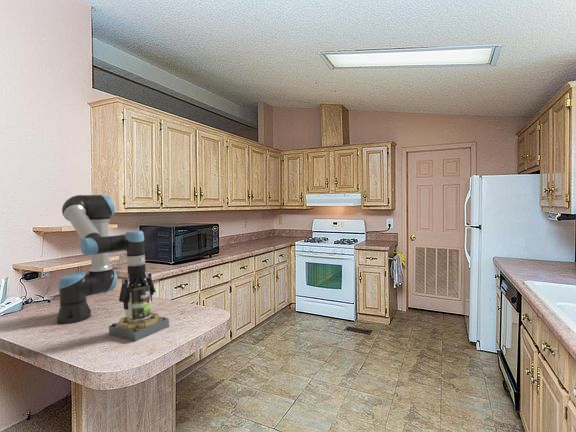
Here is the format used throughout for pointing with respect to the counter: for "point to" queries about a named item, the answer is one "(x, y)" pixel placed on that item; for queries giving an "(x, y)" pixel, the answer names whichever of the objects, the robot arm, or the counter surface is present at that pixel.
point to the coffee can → (139, 303)
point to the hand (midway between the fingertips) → (138, 312)
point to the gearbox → (138, 327)
